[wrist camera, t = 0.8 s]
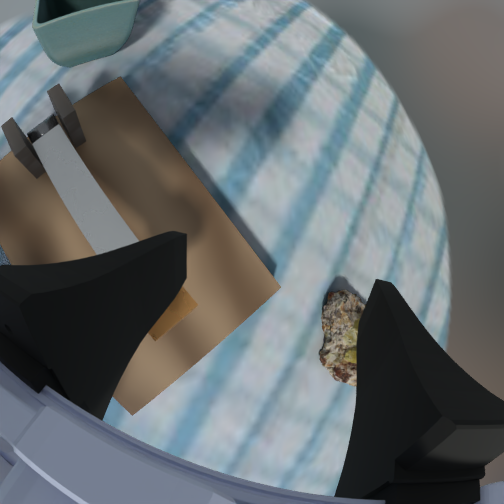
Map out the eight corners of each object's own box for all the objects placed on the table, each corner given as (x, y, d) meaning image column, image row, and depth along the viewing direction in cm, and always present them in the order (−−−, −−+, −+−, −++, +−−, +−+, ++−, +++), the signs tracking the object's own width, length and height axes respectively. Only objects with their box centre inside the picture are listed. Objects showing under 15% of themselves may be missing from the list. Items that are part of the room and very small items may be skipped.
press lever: (158, 339, 16) (155, 341, 15) (30, 144, 17) (21, 132, 15) (197, 306, 17) (198, 304, 15) (61, 121, 18) (54, 107, 16)
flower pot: (136, 63, 24) (142, -2, 15) (51, 89, 21) (31, 29, 12) (124, 14, 23) (129, -46, 15) (50, 35, 20) (38, -22, 12)
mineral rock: (401, 358, 29) (364, 405, 24) (370, 358, 32) (330, 400, 28) (374, 269, 29) (328, 306, 24) (342, 276, 32) (294, 309, 27)
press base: (132, 405, 21) (131, 447, 15) (-17, 192, 18) (-55, 168, 11) (271, 286, 26) (313, 289, 20) (120, 88, 23) (119, 39, 16)
